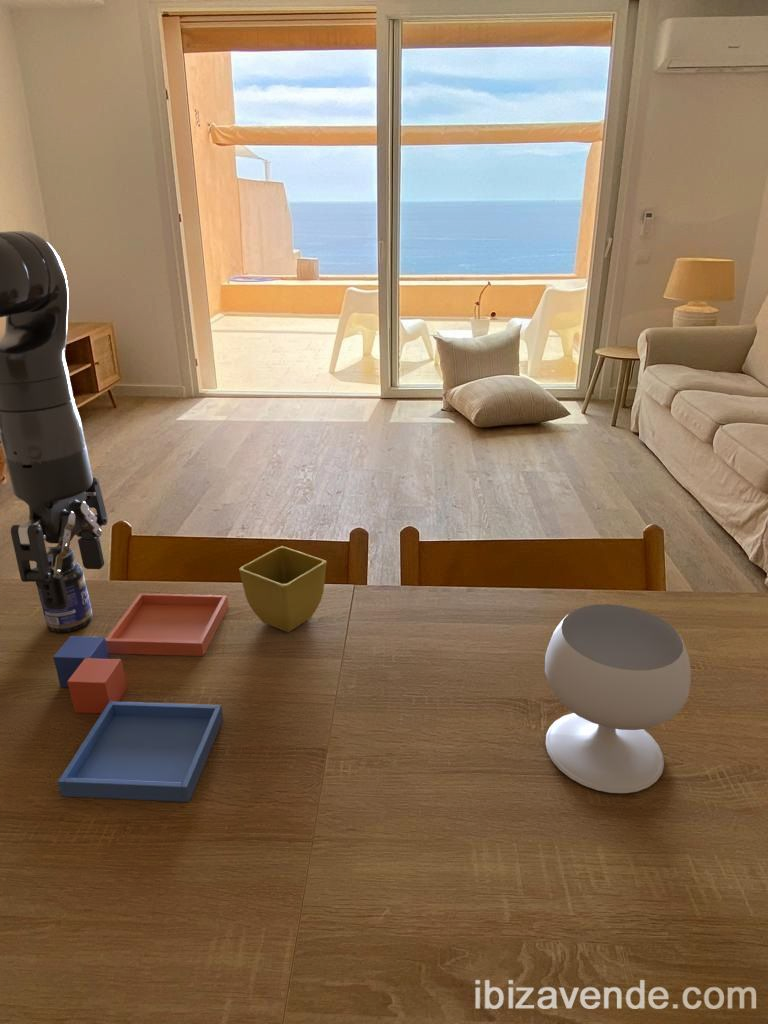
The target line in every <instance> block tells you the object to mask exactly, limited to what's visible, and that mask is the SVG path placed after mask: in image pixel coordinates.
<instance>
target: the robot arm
mask: <svg viewBox="0 0 768 1024" xmlns="http://www.w3.org/2000/svg"><path fill="white" fill-rule="evenodd" d="M68 316H69V286H68V280H67V274H66V271H65V268H64V265H63V263H62V261H61V258H60V256H59V255H58V253H57V251H56V250H55V248H54V247H53V246H52V245H51V244H50V243H49V242H48V241H47V240H46V239H44V238H43V237H42V236H41V235H38V234H36V233H34V232H31V231H25V230H11V231H0V318H4V317H5V328H4V333H3V335H2V337H0V445H1V448H2V452H3V456H4V461H5V464H6V468H7V472H8V476H9V480H10V484H11V487H12V492H13V495H14V496H15V497H16V498H17V499H19V500H21V501H22V502H24V503H25V504H27V506H28V511H29V512H28V513H29V515H28V521H27V522H25V523H24V524H13V525H11V527H10V536H11V540H12V545H13V549H14V554H15V559H16V563H17V567H18V572H19V577H20V580H21V582H23V583H31V582H32V583H36V582H39V585H40V589H41V593H42V597H43V601H44V604H45V606H46V607H47V608H48V609H65V608H66V607H67V605H68V604H69V600H68V596H67V592H66V588H65V583H64V579H63V575H61V570H62V563H63V558H64V557H65V556H67V555H68V553H69V548H70V545H71V541H72V540H73V538H74V537H75V536H76V537H78V539H77V544H78V549H79V552H80V558H81V561H82V567H83V568H84V569H87V570H101V569H102V568H103V567H104V566H105V559H104V554H103V550H102V545H101V539H100V538H101V537H102V533H103V530H102V526H106V525H107V524H108V521H109V519H108V515H107V511H106V505H105V502H104V498H103V494H102V493H103V492H102V487H101V485H100V480H99V478H98V477H95V476H93V472H92V468H91V462H90V457H89V453H88V448H87V443H86V438H85V434H84V429H83V424H82V420H81V419H82V418H81V416H80V412H79V410H78V408H77V405H76V401H75V398H74V391H73V386H72V383H71V377H70V372H69V368H68V364H67V361H66V347H67V336H68V321H69V320H68V319H69V317H68ZM90 509H95V511H96V514H94V513H93V512H92V511H91V510H90ZM45 542H46V543H48V544H54V545H55V544H56V545H55V546H46V543H45ZM47 556H53V557H52V565H51V567H49V562H48V557H47ZM31 562H32V565H31Z"/></svg>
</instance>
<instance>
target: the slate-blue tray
mask: <svg viewBox="0 0 768 1024" xmlns="http://www.w3.org/2000/svg"><path fill="white" fill-rule="evenodd" d="M223 721H224V715H223V707H222V705H221V704H220V705H219V704H197V703H196V704H195V703H167V702H165V703H164V702H141V701H140V702H136V701H119V702H111V701H110V702H109V703H108V705H107V706H106V708H105V709H104V711H103V712H102V713H100V716H99V717H98V719H97V720H96V722H95V723H94V725H93V726H92V727H91V729H90V731H88V734H87V735H86V737H85V738H84V740H83V741H82V743H81V744H80V746H79V747H78V749H77V751H75V752H76V753H75V754H74V755H73V757H72V759H71V760H70V762H69V763H68V765H66V766H67V767H65V768H64V769H65V770H63V773H62V774H61V776H60V777H59V779H58V780H57V786H58V789H59V792H60V796H61V797H65V798H66V797H67V798H87V799H88V798H91V799H111V800H131V801H132V800H134V801H135V800H136V801H156V802H157V801H159V802H181V803H182V802H183V803H190V801H191V799H192V797H193V794H194V793H195V789H196V787H197V784H198V782H199V779H200V777H201V775H202V772H203V769H204V767H205V764H206V762H207V760H208V757H209V755H210V752H211V750H212V747H213V745H214V743H215V740H216V738H217V736H218V733H219V731H220V728H221V725H222V723H223Z"/></svg>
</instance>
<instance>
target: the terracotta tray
mask: <svg viewBox="0 0 768 1024" xmlns="http://www.w3.org/2000/svg"><path fill="white" fill-rule="evenodd" d="M228 608H229V601H228V595H227V594H187V593H184V594H183V593H146V592H145V593H141V592H139V593H138V595H137V596H136V597H135V598H134V600H133V601H132V603H131V604H130V605H129V606H128V608H127V609H126V611H125V612H124V613H123V614H122V616H121V617H120V619H119V620H118V621H117V622H116V624H115V625H114V626H113V628H112V629H111V630H110V631H109V633H108V635H107V636H106V637H105V640H106V645H107V650H108V654H114V655H115V654H117V655H118V654H119V655H121V654H122V655H125V654H126V655H149V656H150V655H151V656H154V655H155V656H186V657H187V656H189V657H204V656H205V654H206V652H207V650H208V648H209V646H210V644H211V642H212V640H213V638H214V636H215V634H216V632H217V630H218V629H219V627H220V624H221V622H222V621H223V618H224V616H225V615H226V613H227V611H228Z"/></svg>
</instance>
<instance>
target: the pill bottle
mask: <svg viewBox="0 0 768 1024" xmlns="http://www.w3.org/2000/svg"><path fill="white" fill-rule="evenodd" d="M47 557H48V562H49V567H51V565H52V557H53V556H47ZM61 575H63V579H64V583H65V588H66V592H67V596H68V600H69V604H68V605H67V607H66V608H65V609H48V608H47V607H46V606H45V604H44V601H43V597H42V593H41V589H40V585H39V582H35V586H36V587H37V588H36V589H37V592H38V597H39V602H40V604H41V608H42V613H43V616H44V620H45V624H46V626H47V628H48V629H49V630H51V631H52V632H55V633H63V634H64V633H71V632H74V631H75V632H76V631H78V630H80V629H82V628H84V627H86V626H87V625H88V624H90V623H91V622H92V620H93V617H94V614H93V609H92V605H91V601H90V596H89V591H88V587H87V583H86V578H85V574H84V569H83V566H81V565H80V564H79V563H78V562H76V561H75V554H74V549H72V548H71V547H69V553H68V555H67V556H65V557H64V558H63V563H62V570H61Z"/></svg>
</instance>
